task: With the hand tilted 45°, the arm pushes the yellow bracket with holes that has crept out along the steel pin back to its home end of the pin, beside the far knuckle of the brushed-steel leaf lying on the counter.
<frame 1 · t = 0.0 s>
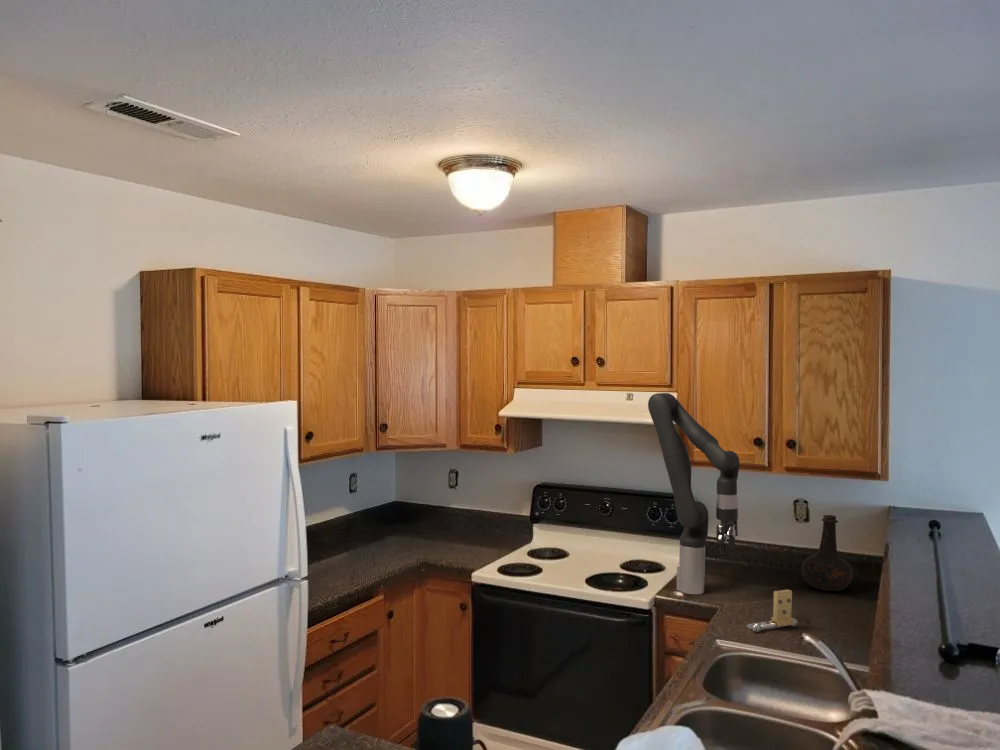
hand: (727, 551, 270), 17 cm above the counter, tool pointing down, fingers open, 8 cm apart
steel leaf: (774, 629, 240), on the counter
yellow bracket with holes: (782, 607, 241), point 7 cm above the counter, slide at 6.0 cm
glass bottle: (826, 588, 285), on the counter
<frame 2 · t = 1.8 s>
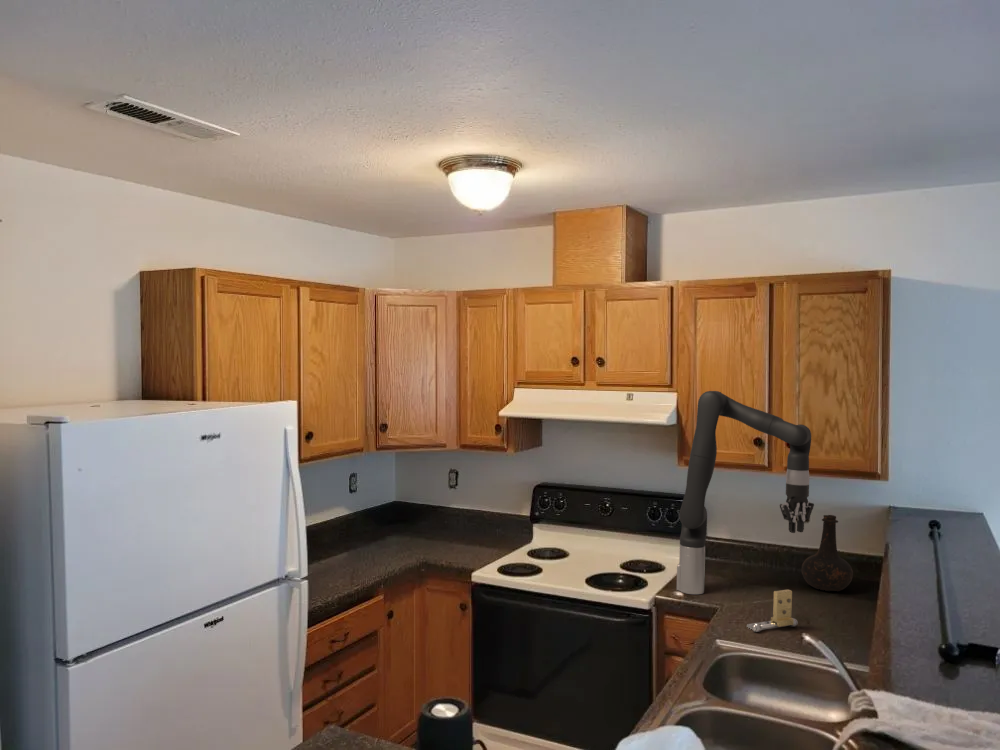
hand: (796, 531, 259), 27 cm above the counter, tool pointing down, fingers open, 3 cm apart
nothing on the counter moved.
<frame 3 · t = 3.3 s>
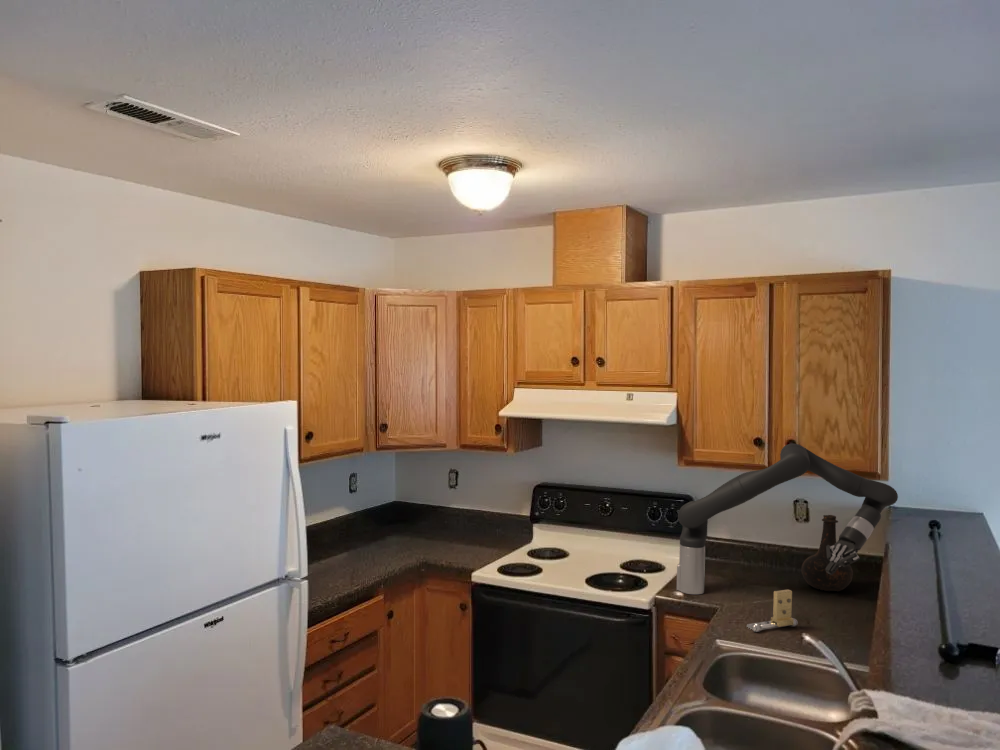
hand: (828, 572, 248), 16 cm above the counter, tool tilted 45°, fingers closed
nothing on the counter moved.
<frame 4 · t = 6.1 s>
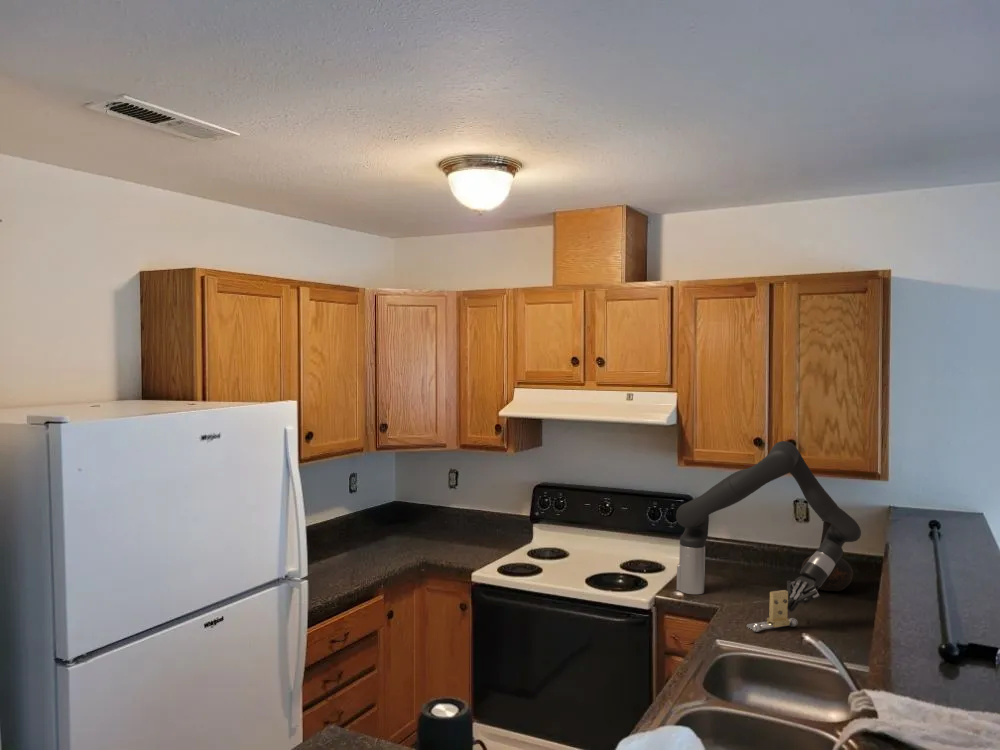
hand: (787, 609, 241), 6 cm above the counter, tool tilted 45°, fingers closed
yellow bracket with holes: (778, 607, 240), point 7 cm above the counter, slide at 4.4 cm, touching gripper
everything else where it was.
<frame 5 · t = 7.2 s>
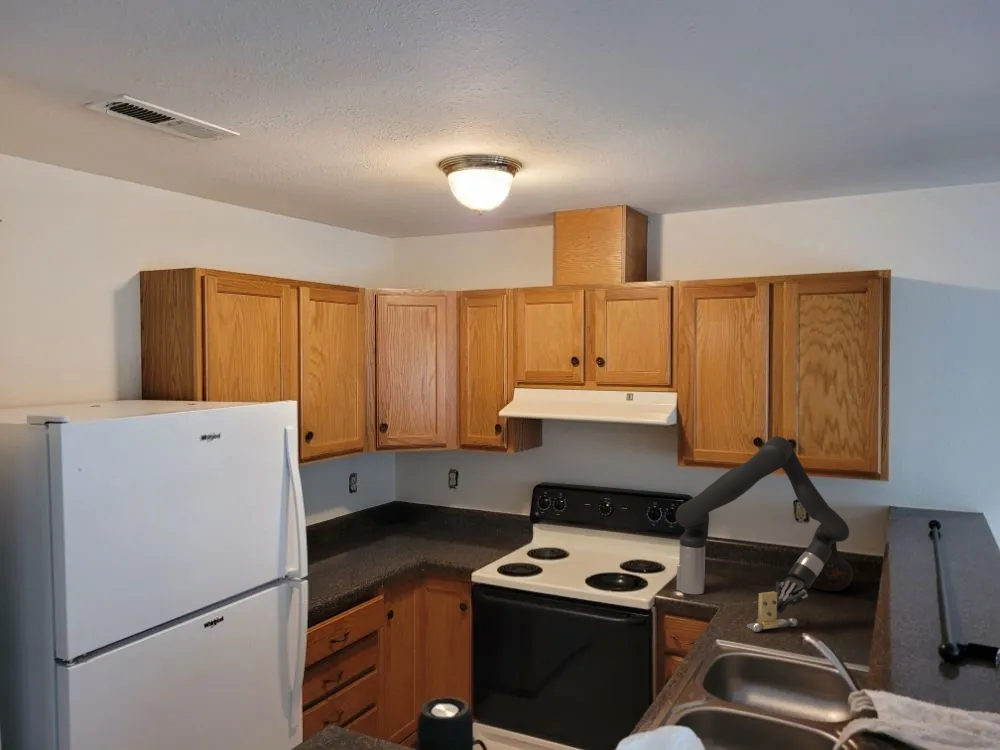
hand: (776, 611, 240), 6 cm above the counter, tool tilted 45°, fingers closed
yellow bracket with holes: (767, 609, 239), point 7 cm above the counter, slide at -0.1 cm, touching gripper
everything else where it was.
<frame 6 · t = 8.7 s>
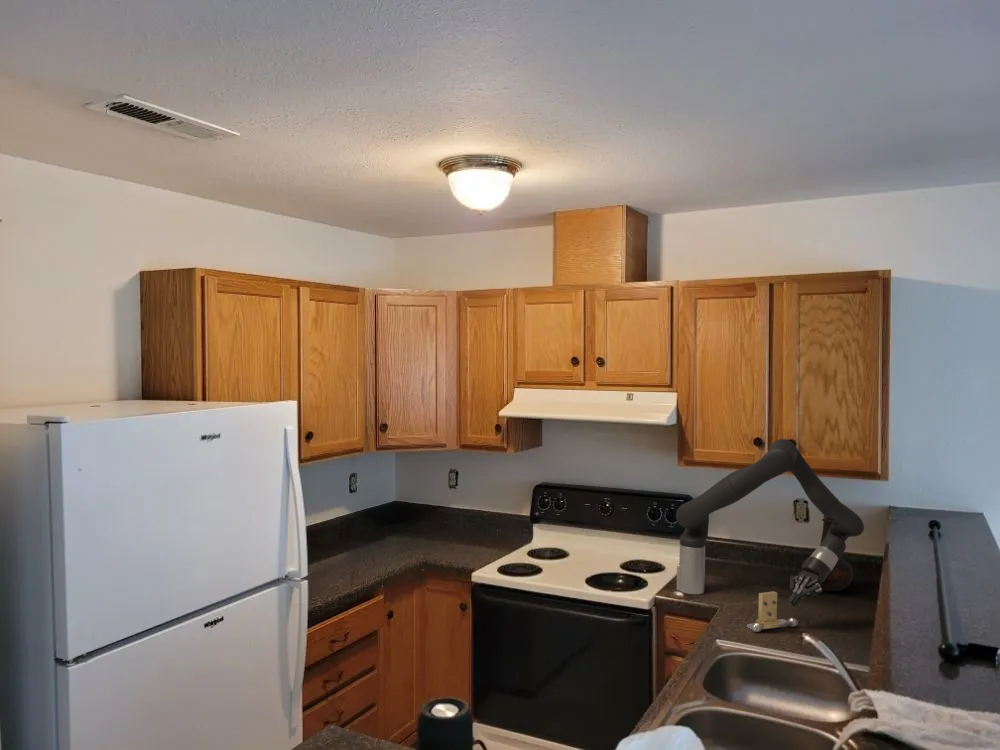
hand: (790, 604, 242), 7 cm above the counter, tool tilted 45°, fingers closed
yellow bracket with holes: (767, 609, 239), point 7 cm above the counter, slide at 0.0 cm
everything else where it was.
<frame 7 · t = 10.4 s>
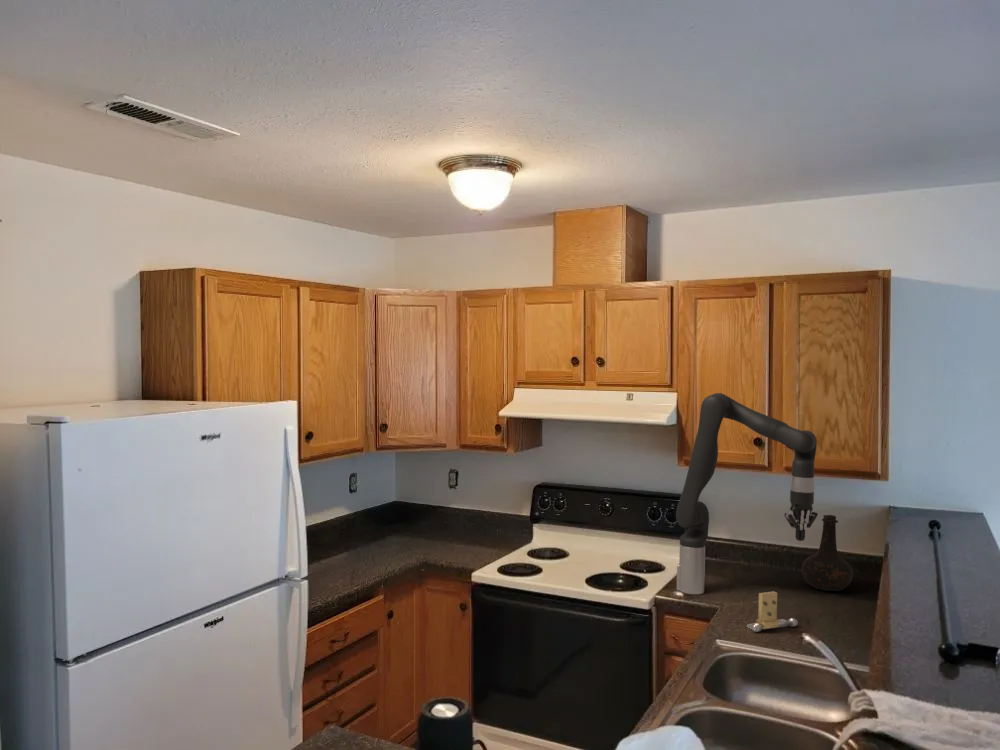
hand: (800, 540, 254), 25 cm above the counter, tool pointing down, fingers closed
nothing on the counter moved.
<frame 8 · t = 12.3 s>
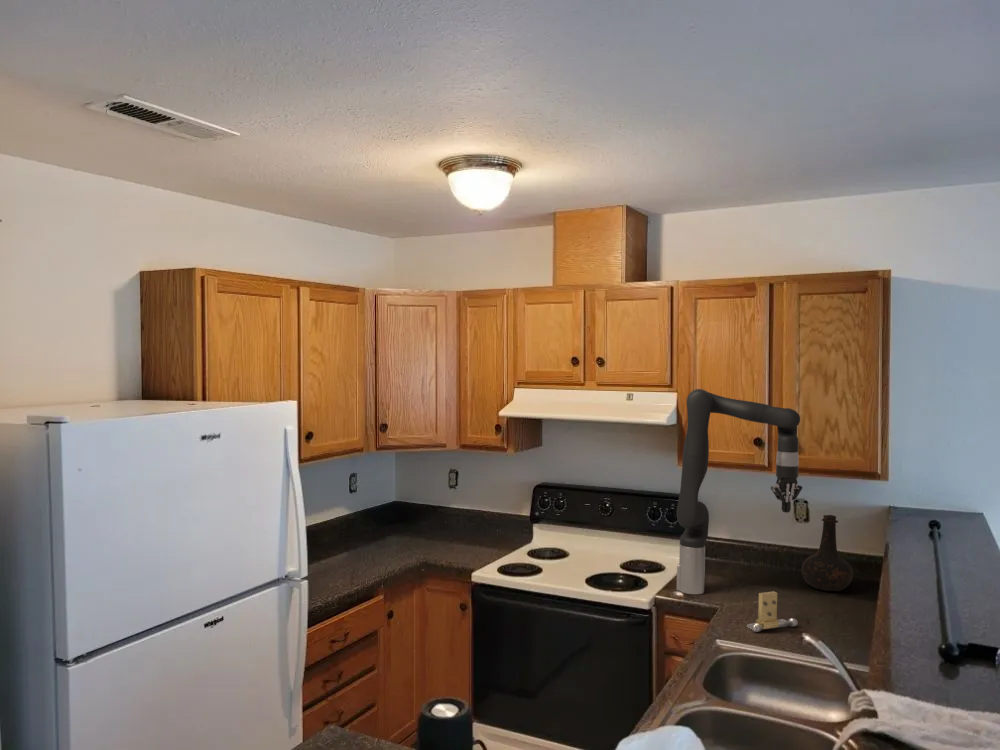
hand: (786, 512, 269), 32 cm above the counter, tool pointing down, fingers closed
nothing on the counter moved.
at the end: yellow bracket with holes slide at 0.0 cm; the gripper is holding nothing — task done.
